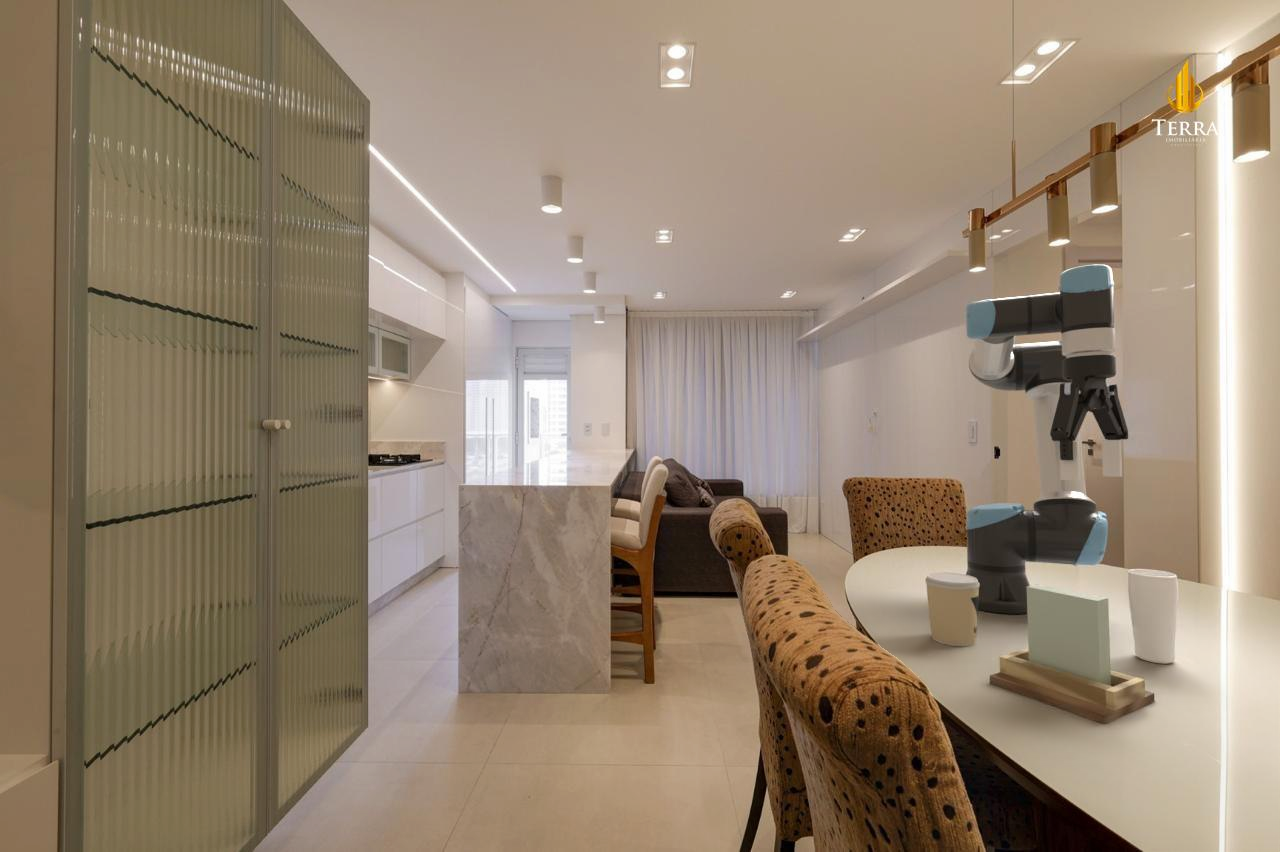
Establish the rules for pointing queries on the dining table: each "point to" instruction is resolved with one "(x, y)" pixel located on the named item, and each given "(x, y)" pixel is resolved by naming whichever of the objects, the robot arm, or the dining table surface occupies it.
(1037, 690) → the track board
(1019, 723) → the dining table surface
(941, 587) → the coffee cup
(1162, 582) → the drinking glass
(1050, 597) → the door panel
